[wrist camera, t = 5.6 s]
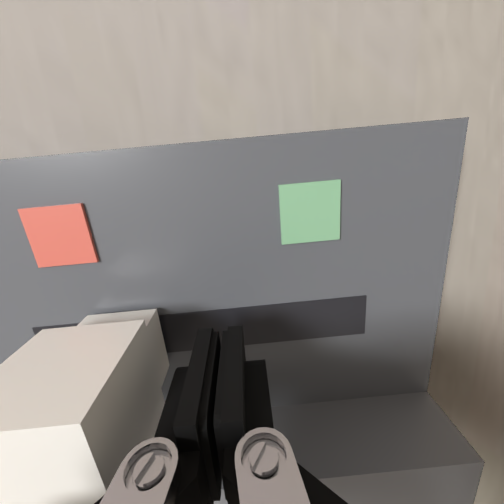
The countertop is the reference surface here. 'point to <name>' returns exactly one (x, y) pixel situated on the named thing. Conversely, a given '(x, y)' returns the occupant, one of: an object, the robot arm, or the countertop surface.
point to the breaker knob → (79, 406)
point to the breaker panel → (267, 280)
